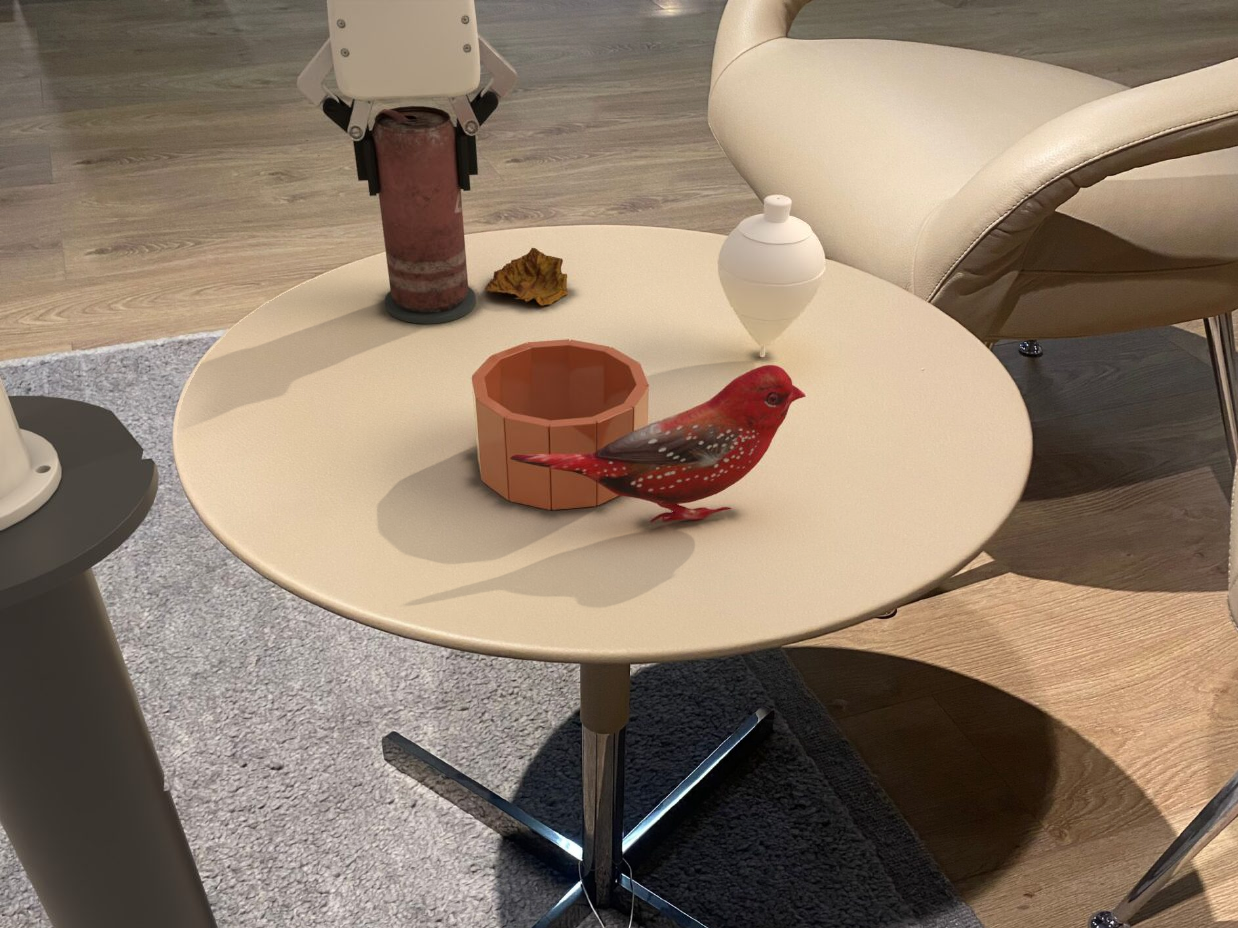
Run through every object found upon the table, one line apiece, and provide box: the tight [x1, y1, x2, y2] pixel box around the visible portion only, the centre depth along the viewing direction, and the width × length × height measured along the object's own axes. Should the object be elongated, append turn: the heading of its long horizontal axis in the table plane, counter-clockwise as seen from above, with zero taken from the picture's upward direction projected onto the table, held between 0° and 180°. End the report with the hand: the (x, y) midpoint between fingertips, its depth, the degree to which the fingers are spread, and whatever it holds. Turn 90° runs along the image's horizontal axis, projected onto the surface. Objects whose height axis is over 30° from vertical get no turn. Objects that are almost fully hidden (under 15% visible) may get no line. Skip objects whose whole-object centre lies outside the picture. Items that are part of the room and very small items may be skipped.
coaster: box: [384, 286, 477, 325], centre depth 95 cm, size 7×7×1 cm
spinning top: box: [717, 194, 826, 358], centre depth 86 cm, size 8×8×12 cm
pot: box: [471, 338, 650, 511], centre depth 76 cm, size 11×11×6 cm
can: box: [371, 105, 469, 313], centre depth 90 cm, size 6×6×14 cm
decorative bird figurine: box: [510, 364, 807, 523], centre depth 70 cm, size 3×18×10 cm, turn 105°
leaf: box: [484, 247, 569, 307], centre depth 97 cm, size 6×7×2 cm
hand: (419, 184), depth 89 cm, fingers closed on can, 6 cm apart
